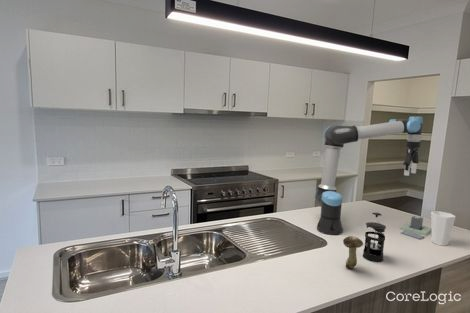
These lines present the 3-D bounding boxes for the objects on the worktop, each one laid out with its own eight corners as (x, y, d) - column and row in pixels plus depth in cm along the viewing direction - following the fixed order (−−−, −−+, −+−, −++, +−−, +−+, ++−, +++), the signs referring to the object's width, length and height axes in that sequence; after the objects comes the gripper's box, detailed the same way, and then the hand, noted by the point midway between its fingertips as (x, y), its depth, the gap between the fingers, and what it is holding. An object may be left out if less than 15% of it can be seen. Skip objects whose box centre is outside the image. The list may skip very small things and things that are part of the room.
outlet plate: (400, 229, 185) (400, 226, 184) (407, 224, 194) (407, 221, 194) (425, 236, 174) (425, 233, 174) (431, 230, 184) (432, 227, 184)
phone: (400, 234, 178) (400, 232, 177) (405, 232, 181) (405, 230, 181) (420, 240, 169) (420, 238, 168) (424, 238, 172) (424, 236, 172)
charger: (410, 229, 185) (411, 216, 184) (412, 227, 188) (414, 215, 187) (419, 232, 181) (420, 219, 180) (421, 230, 184) (423, 217, 183)
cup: (452, 243, 164) (456, 214, 162) (450, 249, 157) (454, 218, 155) (429, 237, 172) (432, 209, 170) (426, 242, 165) (429, 213, 162)
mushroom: (358, 275, 127) (361, 243, 125) (338, 269, 132) (340, 238, 130) (362, 266, 135) (365, 236, 133) (342, 261, 140) (345, 231, 138)
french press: (374, 264, 138) (379, 217, 135) (357, 256, 146) (361, 212, 143) (389, 259, 144) (394, 214, 141) (372, 251, 152) (376, 208, 149)
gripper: (414, 142, 172) (410, 177, 174) (426, 141, 189) (422, 173, 191) (400, 141, 177) (396, 175, 180) (413, 140, 194) (409, 171, 197)
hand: (410, 174), depth 186 cm, fingers open, 13 cm apart
